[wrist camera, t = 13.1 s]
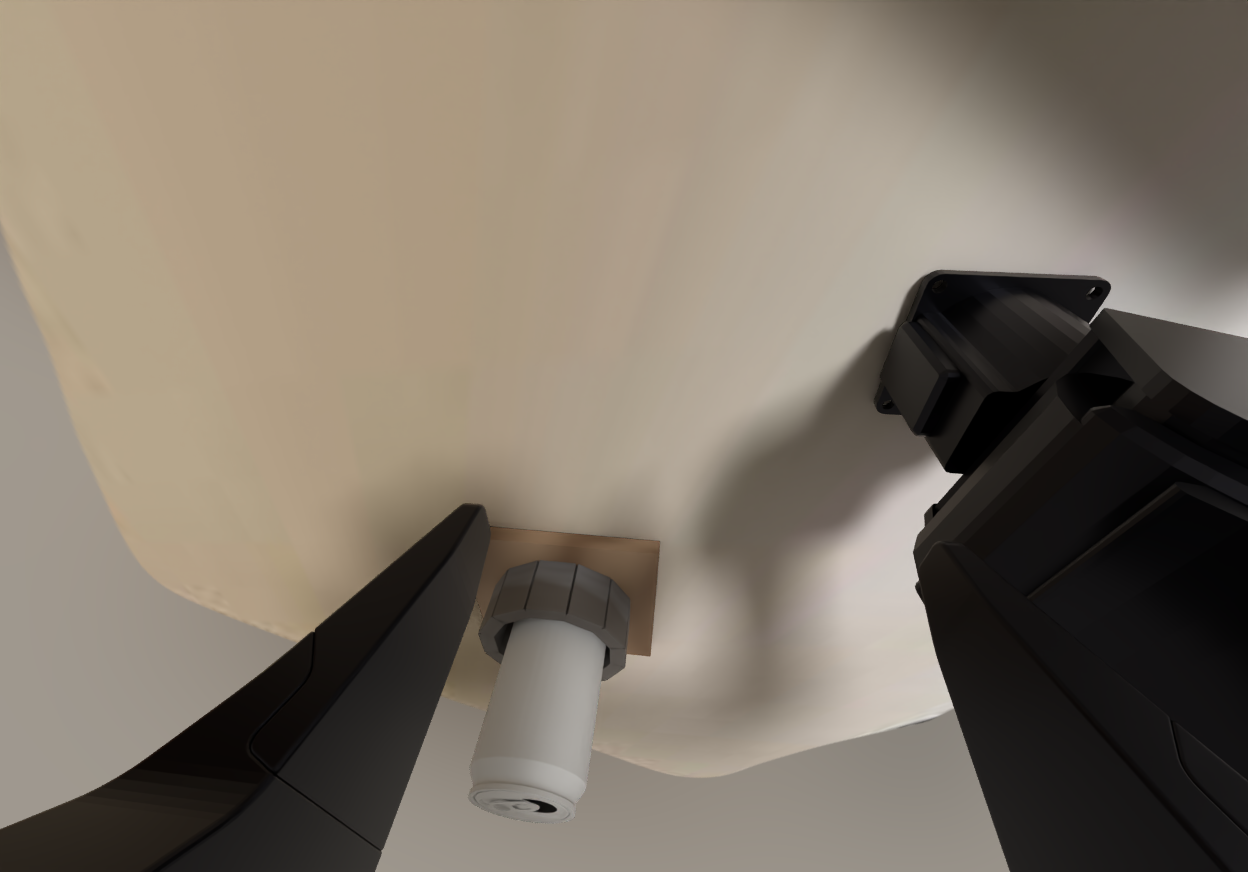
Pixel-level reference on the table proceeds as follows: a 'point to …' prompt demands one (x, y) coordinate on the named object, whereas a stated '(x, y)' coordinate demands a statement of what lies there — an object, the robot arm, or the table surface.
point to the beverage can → (539, 723)
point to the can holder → (570, 589)
